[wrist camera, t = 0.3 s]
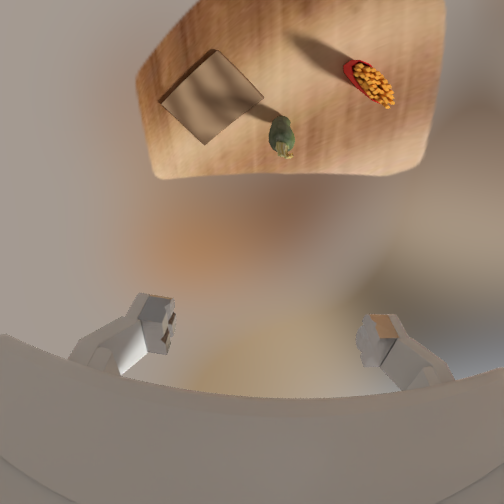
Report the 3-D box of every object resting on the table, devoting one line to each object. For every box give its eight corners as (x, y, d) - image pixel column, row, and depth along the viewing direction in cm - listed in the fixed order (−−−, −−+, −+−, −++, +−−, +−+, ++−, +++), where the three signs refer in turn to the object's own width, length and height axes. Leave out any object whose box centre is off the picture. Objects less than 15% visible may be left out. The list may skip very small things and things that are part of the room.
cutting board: (218, 50, 42) (217, 50, 41) (264, 97, 49) (263, 98, 48) (163, 102, 51) (161, 104, 50) (206, 143, 58) (204, 145, 57)
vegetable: (268, 121, 53) (260, 158, 39) (278, 104, 50) (275, 135, 36) (286, 130, 54) (286, 172, 40) (296, 115, 51) (301, 150, 37)
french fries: (336, 64, 42) (350, 71, 33) (351, 53, 40) (370, 58, 30) (364, 98, 46) (383, 114, 37) (379, 87, 44) (402, 102, 34)
